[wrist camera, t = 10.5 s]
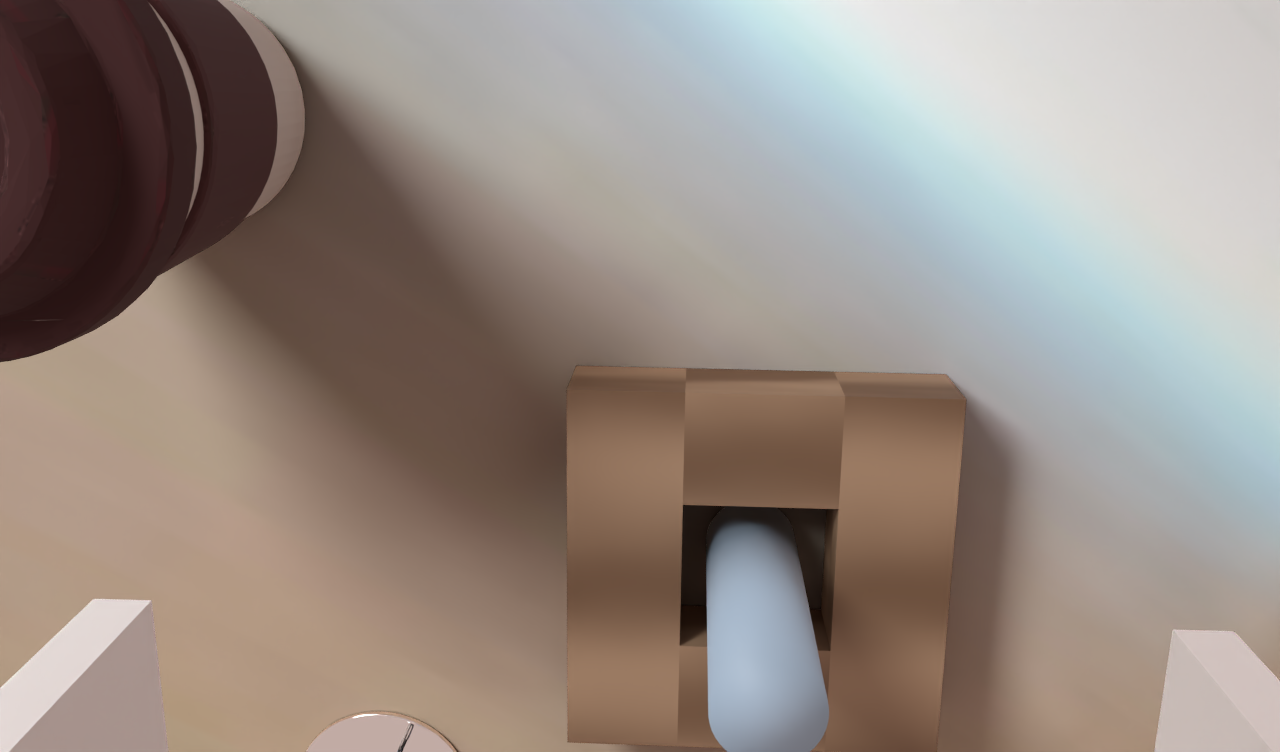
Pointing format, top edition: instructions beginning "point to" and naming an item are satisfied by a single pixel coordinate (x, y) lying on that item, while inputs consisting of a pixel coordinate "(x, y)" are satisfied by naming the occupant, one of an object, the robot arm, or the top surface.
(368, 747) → the wineglass
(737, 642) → the peg
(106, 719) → the robot arm
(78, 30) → the coffee cup
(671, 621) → the hole block
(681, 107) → the top surface
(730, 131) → the top surface
